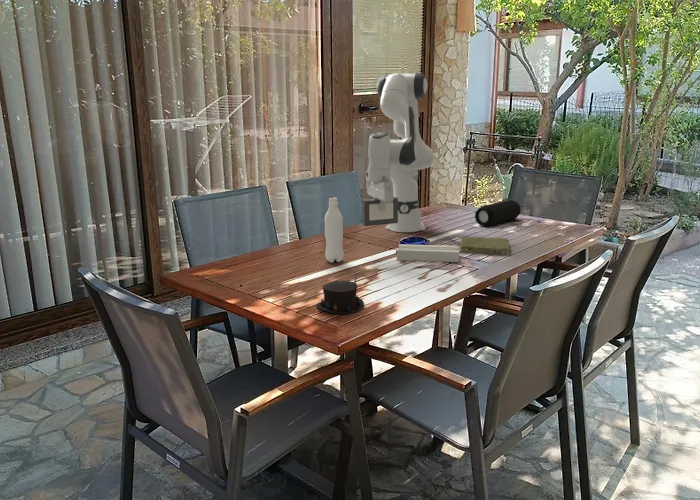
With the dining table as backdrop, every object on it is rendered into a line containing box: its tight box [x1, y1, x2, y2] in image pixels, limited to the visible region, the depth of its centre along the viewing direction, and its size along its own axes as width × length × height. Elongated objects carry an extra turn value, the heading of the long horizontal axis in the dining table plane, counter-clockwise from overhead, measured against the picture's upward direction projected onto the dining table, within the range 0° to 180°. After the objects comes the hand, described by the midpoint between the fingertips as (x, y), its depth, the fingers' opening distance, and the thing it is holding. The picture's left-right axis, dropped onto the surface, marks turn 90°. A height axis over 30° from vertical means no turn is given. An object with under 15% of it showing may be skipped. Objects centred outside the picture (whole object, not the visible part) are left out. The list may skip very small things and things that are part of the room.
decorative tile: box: [459, 236, 510, 256], centre depth 259 cm, size 19×20×4 cm
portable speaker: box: [474, 199, 522, 227], centre depth 303 cm, size 26×10×10 cm, turn 131°
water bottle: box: [323, 197, 345, 263], centre depth 242 cm, size 7×7×25 cm
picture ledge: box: [396, 243, 460, 263], centre depth 247 cm, size 9×24×4 cm, turn 79°
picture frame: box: [361, 196, 398, 227], centre depth 246 cm, size 3×14×10 cm, turn 108°
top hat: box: [316, 274, 365, 315], centre depth 195 cm, size 15×15×10 cm
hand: (380, 209), depth 246 cm, fingers closed on picture frame, 3 cm apart
